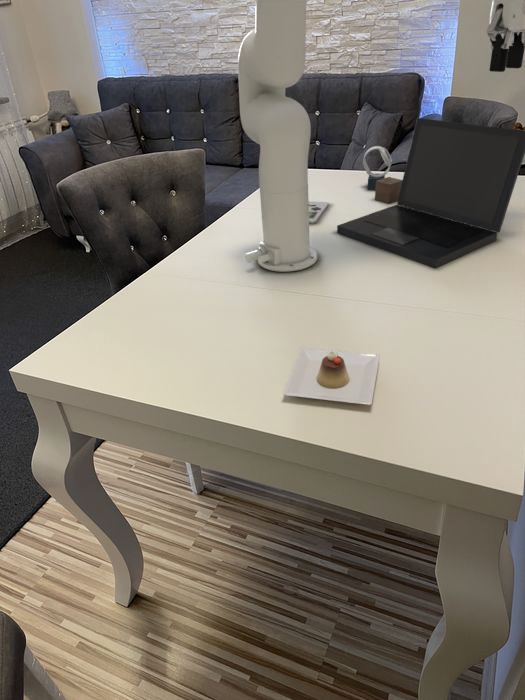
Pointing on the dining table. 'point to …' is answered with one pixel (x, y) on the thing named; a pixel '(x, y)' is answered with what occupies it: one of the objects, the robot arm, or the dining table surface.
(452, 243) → the laptop
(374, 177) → the watch
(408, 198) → the laptop screen
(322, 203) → the handheld gaming device
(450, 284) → the dining table surface
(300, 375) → the dessert
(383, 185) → the block
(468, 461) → the dining table surface
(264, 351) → the dining table surface
